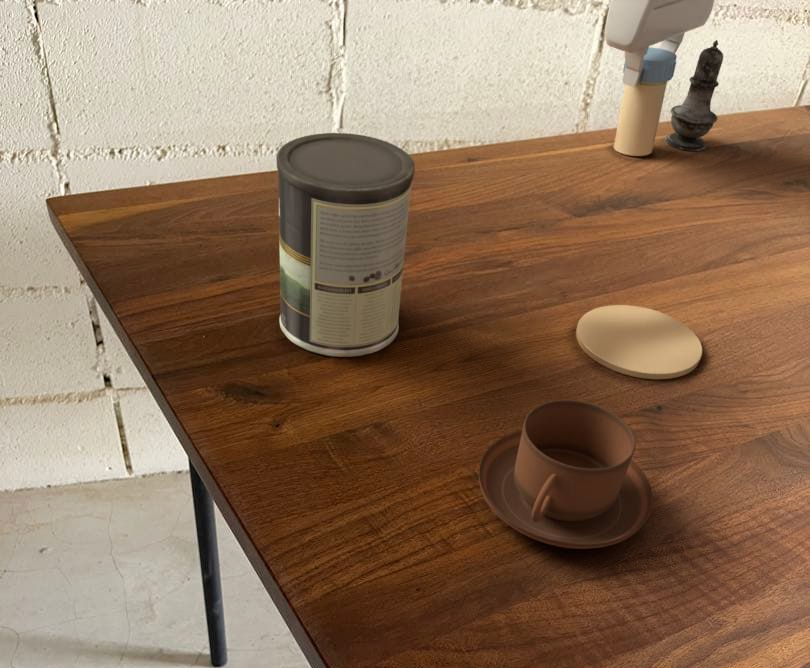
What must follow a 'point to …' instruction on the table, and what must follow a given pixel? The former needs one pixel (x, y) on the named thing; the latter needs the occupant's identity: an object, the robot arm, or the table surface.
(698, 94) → the salt shaker
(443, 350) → the table surface
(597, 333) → the coaster
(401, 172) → the coffee can
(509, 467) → the cup and saucer
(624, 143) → the jar
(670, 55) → the lid
